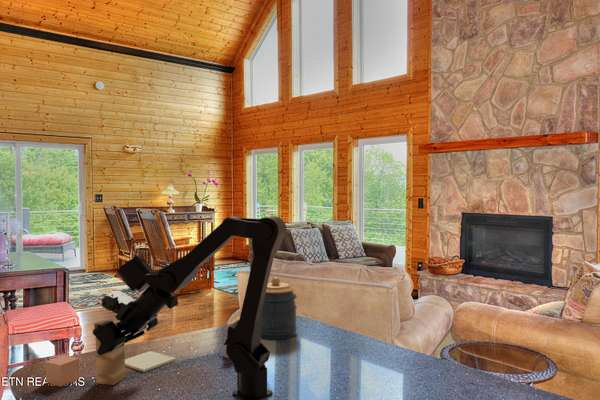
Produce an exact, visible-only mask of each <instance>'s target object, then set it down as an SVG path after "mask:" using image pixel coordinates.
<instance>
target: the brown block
mask: <svg viewBox="0 0 600 400" xmlns="http://www.w3.org/2000/svg"><path fill="white" fill-rule="evenodd" d="M106 321H113V323H114V324H115V325H116V324H117V323H118V322H120V320H117V319H116V317H115V318H111V317H110V318H109V317H106V318H104V319H102V320H99V321H97V322H95V323H94V325H93V326H94V328H95V327H96V326H97V325H99V324H101V323H103V322H106ZM94 328H93V329H94ZM100 345H101V342H100V341H99V340H98V339H97V338H96V337H95V363H96V364H95V369H96V371H95V372H96V375H95V376H96V384H102V385H111V386H114V385H117V383H119V382H121V381H122V380H124V379H125V378H126V366H125V359H126V358H125V357H126V355H125V353H126V352H125V350H126V349H125V344H124V345H123V346H121V347H119V348H118V349H115V350H113V351H111V352H107V353H105V354H102V355H99V354H98V353H97V351H98V349H99V347H100Z"/></svg>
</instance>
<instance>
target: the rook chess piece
mask: <svg viewBox="0 0 600 400" xmlns="http://www.w3.org/2000/svg"><path fill="white" fill-rule="evenodd" d="M229 326H230V325H227V326H225V330H224V331H225V333H226V334H225V337H226V338H227V331H228V327H229ZM226 346H227V345H224V348H223V350H222V352H223V353H222V356H223V357H224V358H225V359H227V360H228V359H229V360H231V359H230V358H229V357H228V355H227V354H226Z"/></svg>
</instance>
